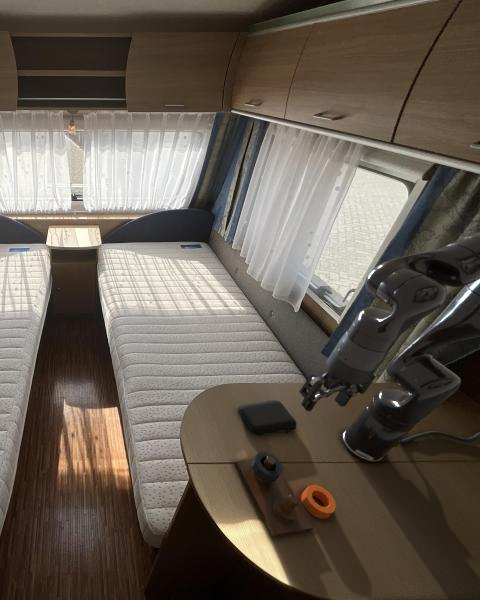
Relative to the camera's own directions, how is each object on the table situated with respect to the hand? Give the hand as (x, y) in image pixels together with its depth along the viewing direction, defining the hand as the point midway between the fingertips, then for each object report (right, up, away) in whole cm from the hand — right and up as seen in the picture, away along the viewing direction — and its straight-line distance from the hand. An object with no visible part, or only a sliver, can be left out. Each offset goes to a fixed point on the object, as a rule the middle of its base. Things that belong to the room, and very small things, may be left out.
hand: (322, 405), depth 77 cm
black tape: (-9, -19, +8) cm, 22 cm away
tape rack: (-8, -24, +7) cm, 27 cm away
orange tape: (+2, -26, +5) cm, 26 cm away
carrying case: (0, -12, +24) cm, 27 cm away
